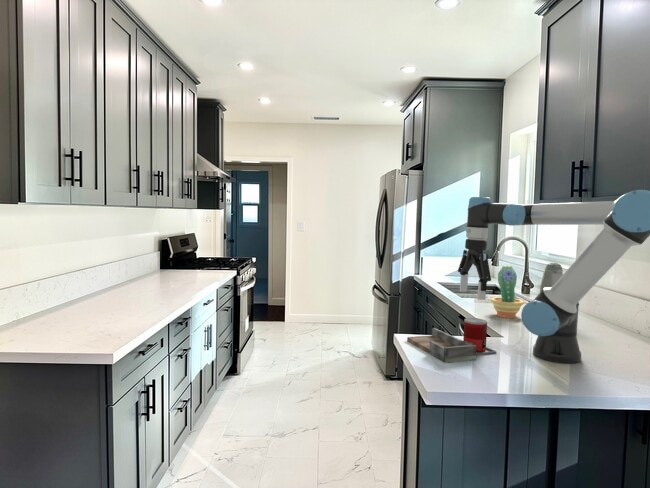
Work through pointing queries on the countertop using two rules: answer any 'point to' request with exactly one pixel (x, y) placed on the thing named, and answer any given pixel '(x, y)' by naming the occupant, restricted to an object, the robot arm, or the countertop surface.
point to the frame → (487, 352)
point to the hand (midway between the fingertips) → (471, 295)
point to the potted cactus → (507, 294)
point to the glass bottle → (551, 275)
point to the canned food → (475, 333)
